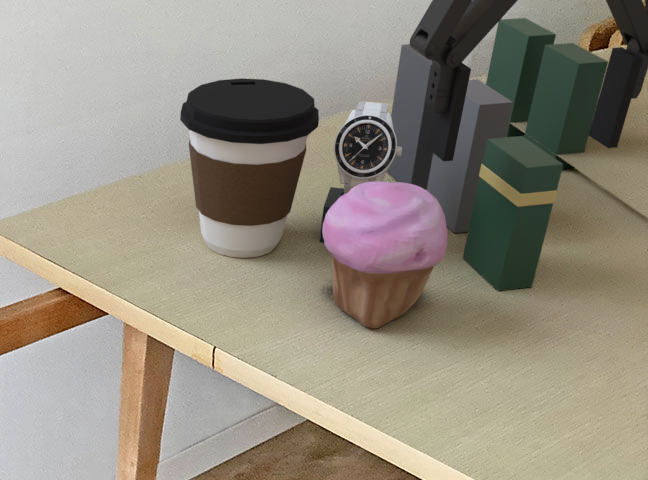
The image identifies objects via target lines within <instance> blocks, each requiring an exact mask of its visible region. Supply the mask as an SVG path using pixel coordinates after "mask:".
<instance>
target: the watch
mask: <svg viewBox="0 0 648 480" xmlns="http://www.w3.org/2000/svg"><path fill="white" fill-rule="evenodd" d="M388 111H389V103H384V102H373V101H364V100H360V101H359V103H358V104H357V107H356V109H352V110H351V112H350V114H349V115H348V117H347V119H346V121H345V122H344V124H342V126H341V127H340V129H339V130H338V132H337V133H336V136H335V139H334V143H333V155H334V158H335V161H336V166H337V170H338V176H339V177H338V178H339V183H340V185H343V188H342V187H334V186H330V188H329V190H328V193H327V196H326V199H325V202H324V204H323V208H322V216H321V217H322V218H321V224H320V233H319V234H320V235H319V243H324V238H323V233H322V229H323V223H324V220H325V216H326V213H327V212H328V210H329V209H330V207H331V206H332V205H333V204H334V203H335V202H336V201H337V200H338V198H339V197H341V196H342V195H344V194H346V193H348V192H349V191H350V190H351V189H352V188H353V187H355V186H357V185H359V184H362V183H367V182H383V181H384V178H385V176H386V174H387V170H388V169H389V167H390V165H391V163H392V162H393V159H394V157H395V155H396V157H401V153H402V147H398V146H397V140H396V139H397V138H396V135H395V132H394V129H393V123H392V117H391V113H389V112H388Z"/></svg>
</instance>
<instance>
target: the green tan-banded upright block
mask: <svg viewBox="0 0 648 480" xmlns="http://www.w3.org/2000/svg"><path fill="white" fill-rule="evenodd" d="M562 168H563V164H562V163H561V162H559V161H558V160H556V159H555V158H553V157H552V156H550V155H549V154H548V153H546V152H545V151H543V150H542V149H540V148H539V147H537V146H536V145H535V144H533V143H532V142H530V141H529V140H527V139H526V138H524V136H516V137H504V138H493V139H488V140H487V144H486V149H485V154H484V159H483V164H481V168H480V173H479V176H480V178H479V183H478V187H477V192H476V197H475V202H474V207H473V211H472V216H471V221H470V226H469V231H468V232H467V236H466V241H465V245H464V251H463V255H462V259H463V260H464V262H466V263H467V264H468V265H469V266H471V267H472V268H473V269H474V270H475V272H476V273H478V274H479V275H480V276H481V277H482V276H483V277H482V278H483V279H484V280H485V281H487V282H488V283H489V282H490V283H489V284H490V285H491V286H492V285H493V286H494V287H495V288H496V289H497V290H498V291H497V290H496V289H495V288H494V287H493V286H492V287H493V288H494V289H495V290H496V291H497V292H500V291H499V290H503V291H511V290H510V289H512V290H519V289H518V288H520V289H527V287H529V288H532V287H533V284H534V281H535V277H536V273H537V269H538V265H539V260H540V257H541V254H542V248H543V245H544V241H545V239H546V233H547V230H548V226H549V222H550V219H551V214H552V211H553V207H554V204H555V203H556V198H557V196H558V192H559V191H558V188H559V184H560V179H561V175H562V172H563V169H562ZM508 289H509V290H508Z"/></svg>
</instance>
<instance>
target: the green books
mask: <svg viewBox="0 0 648 480" xmlns="http://www.w3.org/2000/svg"><path fill="white" fill-rule="evenodd" d="M556 36H557V34H556V33H554V32H553V31H551V30H549V29H547V28H545V27H543V26H541V25H539V24H537V23H536V22H533V21H531V20H530V19H528V18H526V17H520V18H519V17H518V18H503V19H502V18H501V19H500V21H499V22H498V23H497V27H496V32H495V37H494V42H493V47H492V53H491V57H490V62H489V67H488V72H487V77H486V82H485V84H486V85H487V86H489V87H490V88H492V89H494V90H495V91H497V92H498V93H500V94H501V95H503V96H504V97H506V98H507V99H509V100H510V101H512V102H513V106H512V110H511V115H510V119H509V124H508V129H507V133H506V137H516V136H523V137H524V138H526V139H527V140H529V141H530V142H532V143H533V144H535V145H536V146H537V147H539V148H540V149H542V150H543V151H545V152H546V153H548V154H549V155H550V156H552V157H553V158H555V159H556V160H558V161H559V162H561V163H562V164H563V168H562V170H567V169H576V167H575V166H574V165H572V164H570V163H569V162H568V161H566V160H565V159H563V158H562V157H560V156H559V155H568V154H569V155H570V154H580V153H585V150H586V146H587V144H588V139H589V136H588V135H589V132H590V128H591V124H592V121H593V117H594V114H595V110H596V106H597V103H598V99H599V96H600V92H601V88H602V85H603V81H604V77H605V74H606V70H607V67H608V63H609V60H606V59H604V58H602V57H600V56H598V55H597V54H594V53H593V52H590V51H589V50H587V49H585V48H584V47H581V46H579V45H577V44H576V43H574V42H570V43H569V42H568V43H555V40H556ZM526 122H527V123H526ZM513 123H526V127H525V131H522V130H521V129H520V128H518V127H516V126H515V125H514V124H513Z"/></svg>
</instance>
